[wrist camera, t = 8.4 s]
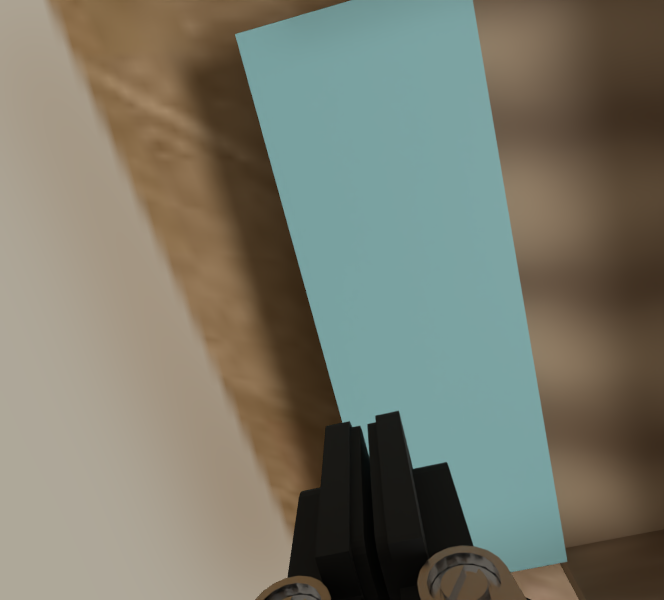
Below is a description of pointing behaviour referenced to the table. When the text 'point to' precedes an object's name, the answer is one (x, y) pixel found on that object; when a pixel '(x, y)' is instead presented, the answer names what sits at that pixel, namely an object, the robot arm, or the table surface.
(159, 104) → the table surface
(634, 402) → the tray
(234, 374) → the table surface
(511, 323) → the panel
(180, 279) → the table surface
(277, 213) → the table surface
